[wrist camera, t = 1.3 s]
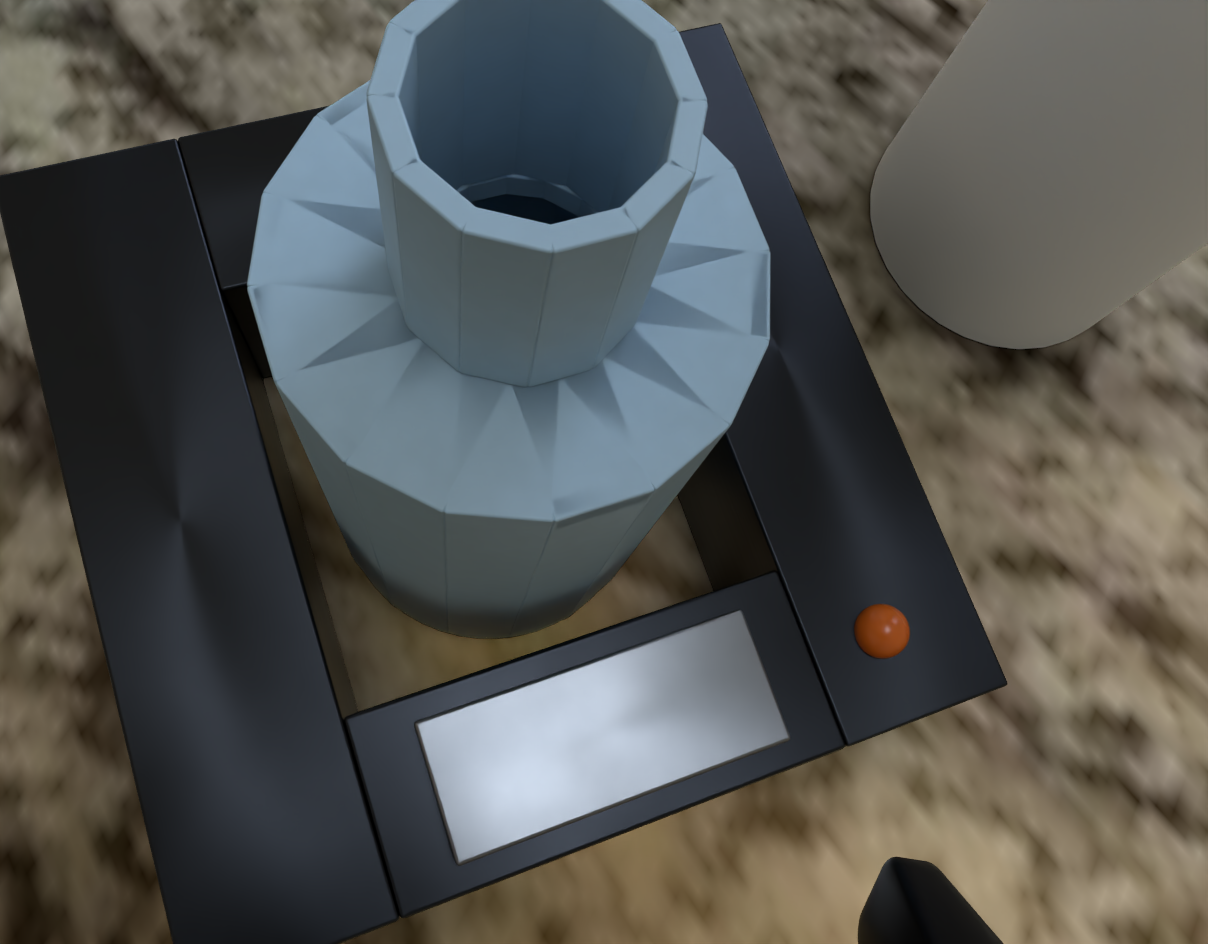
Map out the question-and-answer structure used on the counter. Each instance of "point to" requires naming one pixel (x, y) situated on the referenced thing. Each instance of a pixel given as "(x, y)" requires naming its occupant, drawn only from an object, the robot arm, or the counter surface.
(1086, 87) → the cylindrical container
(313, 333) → the vase
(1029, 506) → the counter surface
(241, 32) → the counter surface
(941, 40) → the counter surface
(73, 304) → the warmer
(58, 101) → the counter surface
